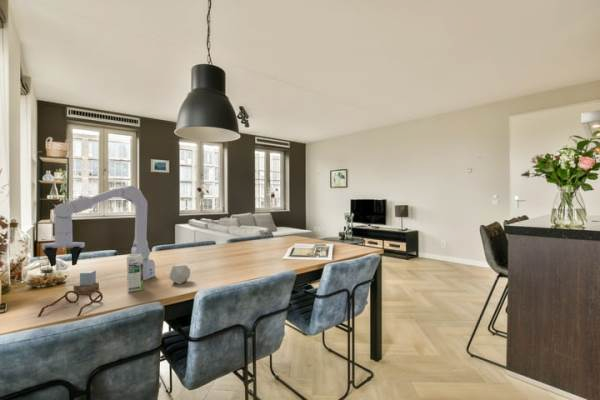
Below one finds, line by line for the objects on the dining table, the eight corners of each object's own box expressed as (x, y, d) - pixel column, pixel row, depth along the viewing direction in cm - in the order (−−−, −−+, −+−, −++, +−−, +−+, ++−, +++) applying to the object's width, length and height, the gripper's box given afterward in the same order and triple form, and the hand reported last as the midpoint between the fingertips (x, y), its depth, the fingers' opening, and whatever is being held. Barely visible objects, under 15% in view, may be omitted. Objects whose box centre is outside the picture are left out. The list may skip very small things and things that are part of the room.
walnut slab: (98, 289, 123) (98, 282, 123) (85, 294, 117) (84, 286, 117) (87, 288, 124) (87, 281, 124) (73, 292, 118) (73, 285, 118)
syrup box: (127, 292, 118) (127, 256, 117) (127, 288, 123) (126, 254, 122) (143, 290, 121) (143, 255, 120) (142, 286, 126) (142, 252, 125)
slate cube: (95, 282, 123) (95, 270, 123) (90, 285, 119) (90, 272, 119) (85, 282, 122) (85, 270, 122) (79, 285, 118) (79, 273, 118)
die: (194, 284, 131) (194, 263, 137) (180, 278, 124) (181, 257, 130) (178, 289, 133) (179, 269, 139) (164, 284, 126) (165, 263, 132)
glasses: (103, 302, 107) (103, 289, 107) (78, 317, 94) (78, 302, 94) (66, 303, 107) (66, 289, 107) (36, 318, 94) (36, 303, 94)
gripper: (88, 230, 125) (88, 262, 125) (49, 231, 122) (49, 263, 123) (79, 232, 118) (79, 266, 119) (38, 233, 115) (38, 267, 116)
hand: (63, 265), depth 120 cm, fingers open, 7 cm apart
